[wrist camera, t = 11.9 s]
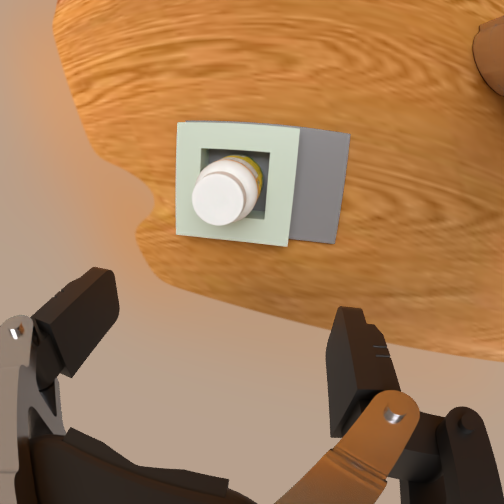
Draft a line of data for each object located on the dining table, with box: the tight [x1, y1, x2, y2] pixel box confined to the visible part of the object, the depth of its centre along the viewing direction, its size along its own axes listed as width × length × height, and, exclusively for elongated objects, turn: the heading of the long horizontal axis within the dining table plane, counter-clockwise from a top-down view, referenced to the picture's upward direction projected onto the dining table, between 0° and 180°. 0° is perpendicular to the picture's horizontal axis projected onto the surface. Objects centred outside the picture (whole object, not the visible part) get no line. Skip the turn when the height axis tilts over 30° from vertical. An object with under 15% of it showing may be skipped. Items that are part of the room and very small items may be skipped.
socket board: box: [176, 121, 350, 247], centre depth 29 cm, size 12×17×4 cm
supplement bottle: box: [192, 154, 264, 226], centre depth 26 cm, size 5×5×10 cm
